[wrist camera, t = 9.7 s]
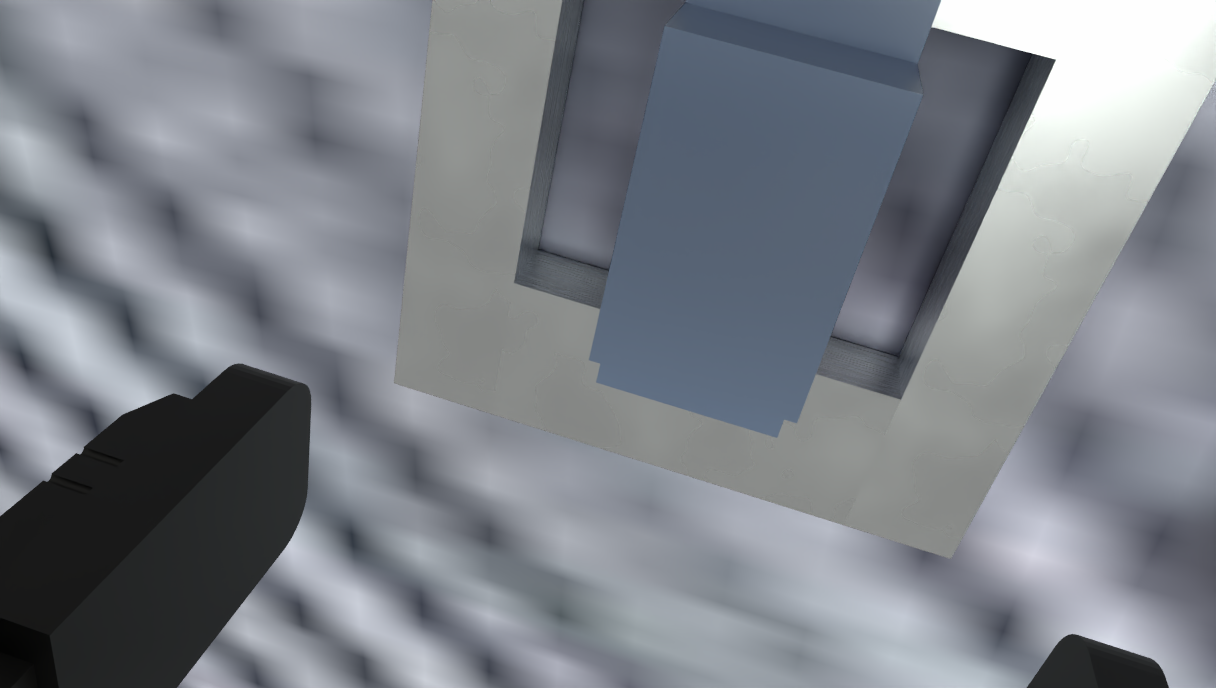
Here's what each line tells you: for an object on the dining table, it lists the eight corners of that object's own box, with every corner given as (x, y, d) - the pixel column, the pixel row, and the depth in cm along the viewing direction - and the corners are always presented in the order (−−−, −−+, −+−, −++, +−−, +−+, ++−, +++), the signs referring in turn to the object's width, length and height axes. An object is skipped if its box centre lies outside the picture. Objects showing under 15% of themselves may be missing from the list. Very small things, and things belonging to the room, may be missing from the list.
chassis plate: (503, -332, 18) (467, -345, 17) (1290, -145, 17) (1336, -140, 15) (423, 346, 27) (394, 383, 25) (945, 508, 26) (951, 559, 24)
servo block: (730, -121, 19) (693, -100, 15) (947, -68, 19) (971, -29, 15) (621, 327, 25) (571, 433, 21) (785, 377, 25) (769, 495, 21)
